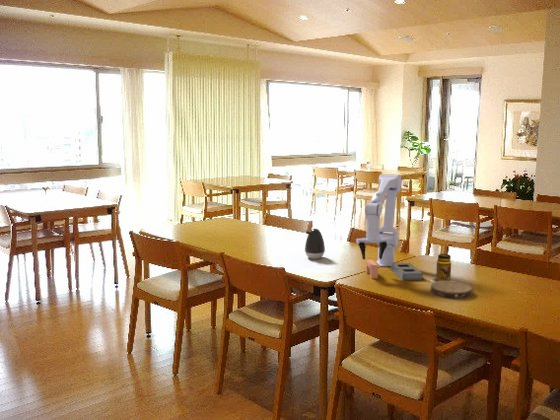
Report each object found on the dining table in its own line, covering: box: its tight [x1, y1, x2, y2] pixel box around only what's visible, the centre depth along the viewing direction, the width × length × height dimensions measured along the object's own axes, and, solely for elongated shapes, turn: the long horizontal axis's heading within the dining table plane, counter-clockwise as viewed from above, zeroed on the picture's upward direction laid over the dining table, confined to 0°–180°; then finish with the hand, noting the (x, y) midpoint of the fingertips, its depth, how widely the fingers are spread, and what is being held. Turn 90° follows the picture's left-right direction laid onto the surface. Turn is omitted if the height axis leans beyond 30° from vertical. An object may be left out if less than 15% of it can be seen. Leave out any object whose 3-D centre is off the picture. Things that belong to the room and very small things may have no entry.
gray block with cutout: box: [390, 262, 423, 281], centre depth 258 cm, size 18×9×3 cm, turn 5°
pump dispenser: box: [304, 228, 326, 260], centre depth 287 cm, size 10×10×15 cm
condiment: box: [429, 253, 453, 283], centre depth 246 cm, size 7×8×12 cm
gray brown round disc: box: [430, 280, 473, 300], centre depth 231 cm, size 16×16×3 cm
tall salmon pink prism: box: [365, 259, 379, 279], centre depth 256 cm, size 10×3×6 cm, turn 5°
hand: (372, 258), depth 255 cm, fingers open, 7 cm apart
